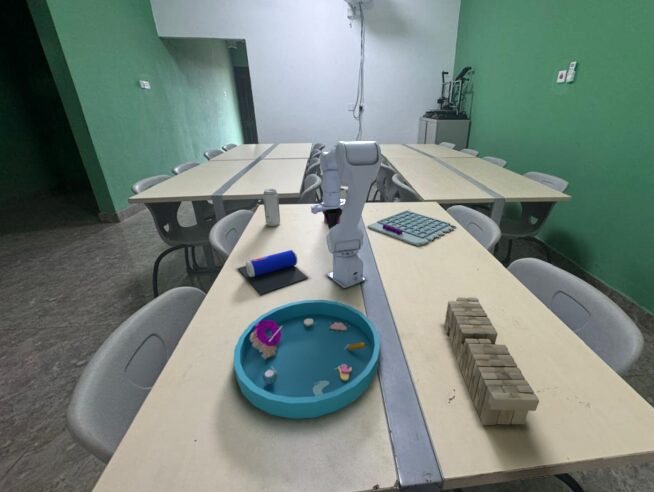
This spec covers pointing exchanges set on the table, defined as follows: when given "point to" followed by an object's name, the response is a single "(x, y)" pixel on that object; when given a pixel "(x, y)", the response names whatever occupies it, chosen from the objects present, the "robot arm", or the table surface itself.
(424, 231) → the calendar
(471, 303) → the block tower
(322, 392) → the round teal tray
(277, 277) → the mat
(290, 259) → the beverage can
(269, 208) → the energy drink can
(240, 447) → the table surface
